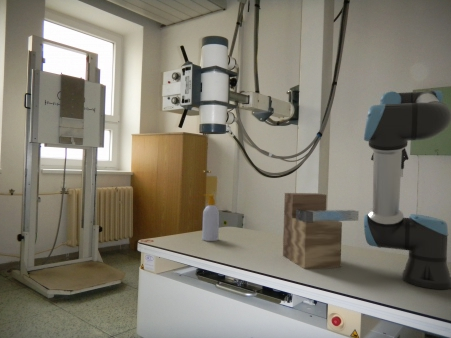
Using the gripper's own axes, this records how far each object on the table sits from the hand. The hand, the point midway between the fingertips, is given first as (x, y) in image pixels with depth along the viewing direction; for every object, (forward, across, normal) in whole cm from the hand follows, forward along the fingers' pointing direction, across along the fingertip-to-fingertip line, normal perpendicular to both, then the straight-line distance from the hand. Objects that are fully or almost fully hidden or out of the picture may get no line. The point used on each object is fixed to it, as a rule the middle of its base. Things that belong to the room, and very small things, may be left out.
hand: (388, 176), depth 152 cm
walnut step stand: (+37, +2, +36) cm, 51 cm away
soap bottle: (+37, +50, +69) cm, 93 cm away
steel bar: (+19, -3, +31) cm, 36 cm away
